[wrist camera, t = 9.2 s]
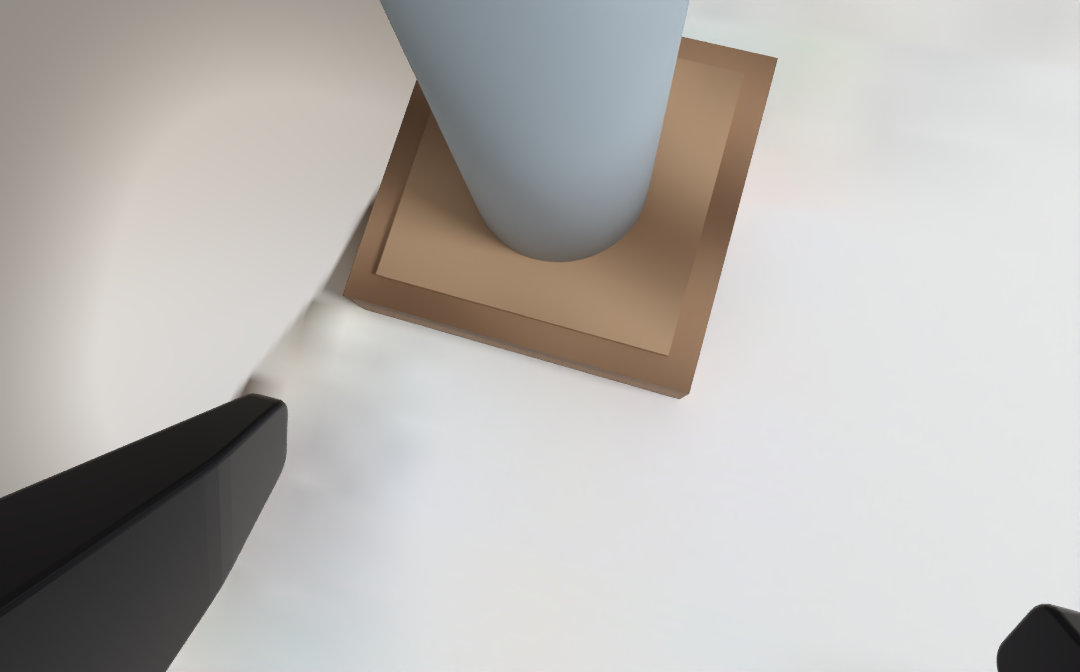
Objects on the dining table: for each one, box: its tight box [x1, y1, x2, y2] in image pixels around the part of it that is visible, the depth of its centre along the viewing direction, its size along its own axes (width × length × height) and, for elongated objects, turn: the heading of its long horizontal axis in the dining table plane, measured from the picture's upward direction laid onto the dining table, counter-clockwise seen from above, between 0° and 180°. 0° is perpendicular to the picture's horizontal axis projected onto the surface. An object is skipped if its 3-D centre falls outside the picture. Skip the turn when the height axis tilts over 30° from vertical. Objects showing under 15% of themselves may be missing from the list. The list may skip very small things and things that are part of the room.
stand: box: [343, 37, 778, 399], centre depth 21 cm, size 10×10×2 cm
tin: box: [380, 0, 689, 262], centre depth 13 cm, size 5×5×12 cm
